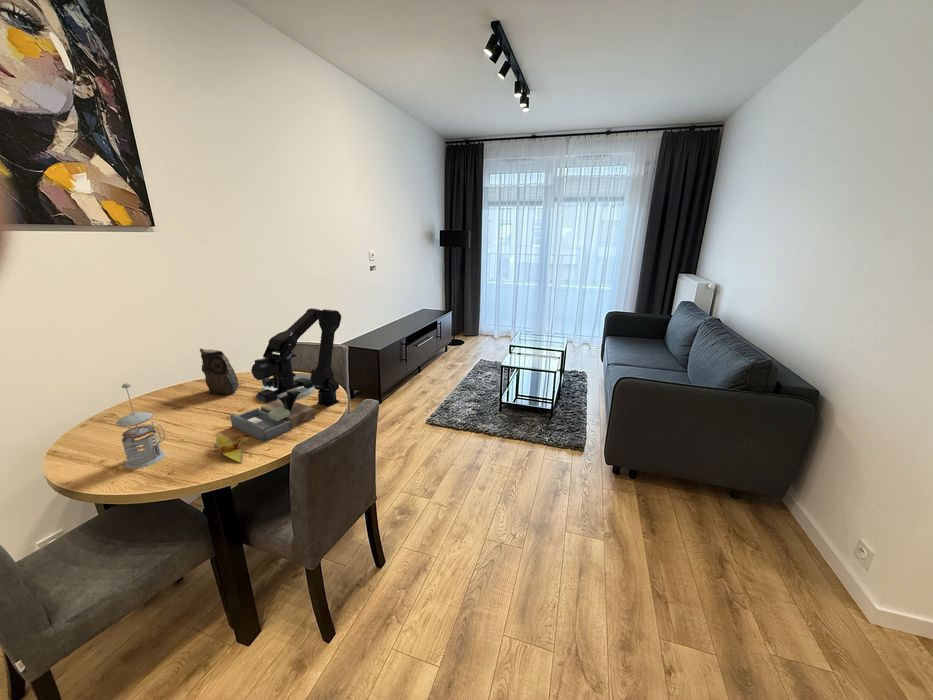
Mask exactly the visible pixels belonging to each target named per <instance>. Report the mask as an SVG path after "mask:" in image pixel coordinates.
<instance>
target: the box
mask: <svg viewBox="0 0 933 700" xmlns="http://www.w3.org/2000/svg"><path fill="white" fill-rule="evenodd" d="M229 416H230V423H231V427H232V428H234V429H236V430H238V431H240V432H242V433H244V434H246V435H249V436H250V437H253V438H254V439H257V440H259V441H261V442H263V443H267V442H268V441H271V440H273V439H274V438H275V439H276V438H277V437H279V436H281V435H284V434H286V433H288V432H291V431H292V429H293V428H292V429H291V421H286V420H283V419H281V420H279V421H275V420H273V419H272V418H270V417H269V413H266V412H264V411H262V410H261V409H260V408H259V407H256V408H254V409H251V410H248V411H246V412H243V413H240V414H238V415H237V414H235V413H230V414H229ZM254 417H256V418H258V419H260V420H263V426H259V425H257V424H255V423H253V422H250V421H248V419H251V418H254Z"/></svg>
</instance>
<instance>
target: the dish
mask: <svg viewBox="0 0 933 700" xmlns="http://www.w3.org/2000/svg"><path fill="white" fill-rule="evenodd" d="M295 374H296V376H295V377H294V382H295V380H297V379H300V378H306V379H310V378H311V374H308V373H295ZM269 378H270V379H271V378H272V377H269ZM261 389H262V390H261V391H264V390H267V389H269V390H272V391H274V390H277V388H273V386H272V387H270V388H269V387H268V386H265V387H264V386H263V384H261ZM297 390H298V391H299V392H300V394H298V396H297V398H296V400H295V401H297V400H301V399H303V397H304V398H307V397H308V395H309V396H311V395H312V393H313V392H314V391H315V390H316V389H315V388H314V386H313V387H311V388H309V389H306V388H304V386H302V387H300V388H297ZM316 391H317V390H316ZM316 391H315V392H316ZM315 392H314V393H315ZM314 393H313V394H314ZM310 394H311V395H310ZM306 396H307V397H306ZM300 398H301V399H300ZM278 400H280V399H278V398H277V399H276V400H275V401H278ZM275 401H274V402H275Z"/></svg>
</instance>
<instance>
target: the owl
mask: <svg viewBox="0 0 933 700" xmlns="http://www.w3.org/2000/svg"><path fill="white" fill-rule="evenodd" d="M199 352H200V357H201V361H202V362H201V363H202V364H201V371H202V373H203V374H204V376H205V377H204V378H205V379H204V380H205V384H206V386H207V388H208V394H209V395H214V396H218V397H220V396H221V397H223V396H233V395H235V394H236V392H237V391H238V389H239V388H238V386H239V387H240V385H239V380H238V379H239V378H238V376H237V374H236V372H235V369H234V368H233V366H232V365H231V363H230V360H229V358H228V357H227V355H225V353H224V352H223V351H222V350H218V349H204V348H200V349H199ZM237 388H238V389H237ZM235 391H236V392H235ZM234 393H235V394H234Z"/></svg>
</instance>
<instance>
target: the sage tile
mask: <svg viewBox="0 0 933 700" xmlns="http://www.w3.org/2000/svg"><path fill="white" fill-rule="evenodd" d="M289 415H290V412H289V410H287V409H285V408H283V407H280V408H277V409H275V410H273V411H271V412H269V417H270V418H272V419H273V420H275V421H279V420H281V419H283V418H285V417H287V416H289Z"/></svg>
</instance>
